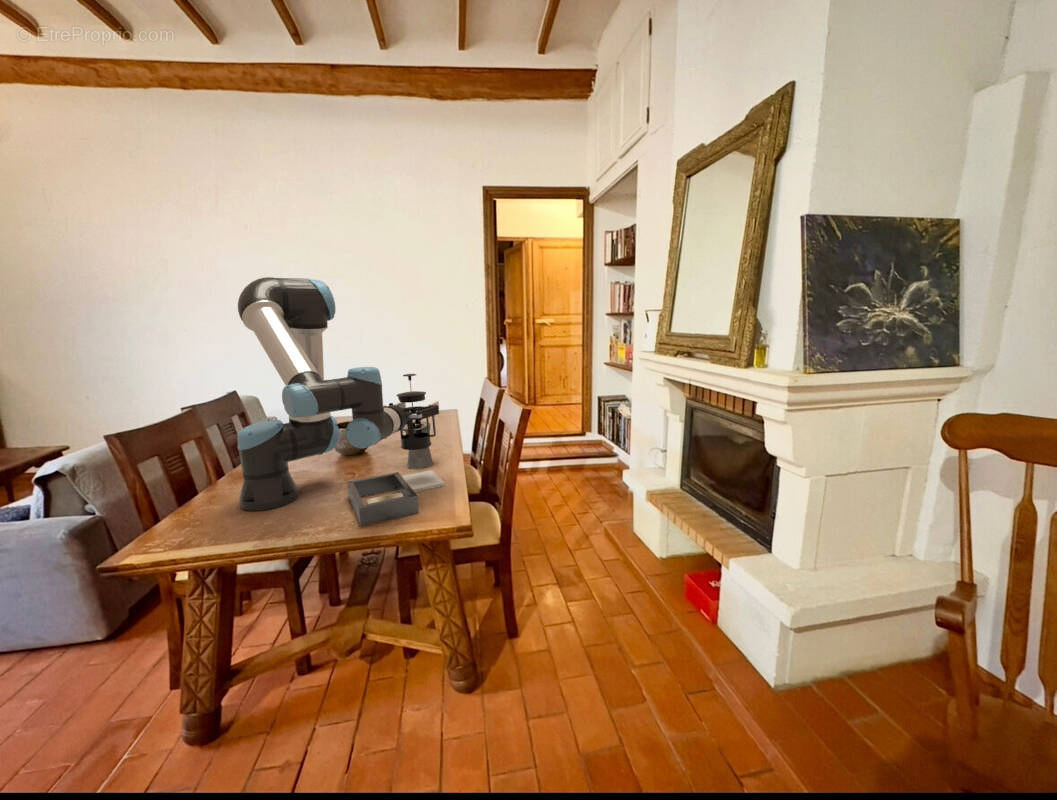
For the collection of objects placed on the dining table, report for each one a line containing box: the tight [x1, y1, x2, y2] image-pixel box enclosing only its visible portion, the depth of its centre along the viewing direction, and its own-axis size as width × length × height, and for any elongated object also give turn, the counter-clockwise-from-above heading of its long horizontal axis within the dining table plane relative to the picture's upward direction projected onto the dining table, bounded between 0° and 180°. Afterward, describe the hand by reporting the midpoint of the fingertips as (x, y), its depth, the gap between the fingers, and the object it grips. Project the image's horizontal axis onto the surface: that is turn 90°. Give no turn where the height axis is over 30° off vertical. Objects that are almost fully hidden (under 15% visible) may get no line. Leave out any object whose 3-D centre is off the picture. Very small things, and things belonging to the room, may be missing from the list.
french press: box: [396, 373, 437, 451], centre depth 138 cm, size 12×9×23 cm
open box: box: [346, 471, 420, 528], centre depth 125 cm, size 15×22×5 cm
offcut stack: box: [366, 492, 403, 504], centre depth 119 cm, size 11×4×5 cm, turn 120°
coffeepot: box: [404, 420, 434, 470], centre depth 159 cm, size 15×9×18 cm, turn 45°
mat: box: [401, 469, 446, 493], centre depth 142 cm, size 11×14×1 cm
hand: (421, 405), depth 141 cm, fingers closed on french press, 11 cm apart
